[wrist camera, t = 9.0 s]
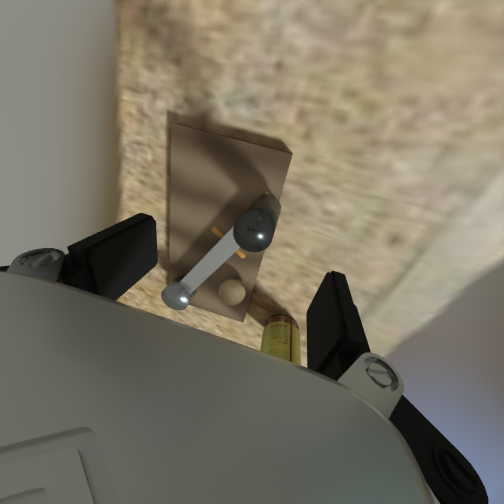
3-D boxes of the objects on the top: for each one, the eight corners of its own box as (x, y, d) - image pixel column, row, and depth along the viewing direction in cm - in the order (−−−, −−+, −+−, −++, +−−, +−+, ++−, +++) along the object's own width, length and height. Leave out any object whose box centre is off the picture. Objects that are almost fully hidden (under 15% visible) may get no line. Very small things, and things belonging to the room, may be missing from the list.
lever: (187, 301, 35) (152, 350, 27) (167, 285, 34) (124, 330, 26) (291, 207, 24) (286, 240, 16) (265, 180, 23) (245, 199, 15)
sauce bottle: (258, 326, 38) (224, 479, 21) (277, 307, 35) (253, 467, 17) (288, 343, 38) (278, 507, 21) (309, 325, 35) (317, 500, 18)
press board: (180, 124, 24) (147, 118, 19) (292, 153, 23) (290, 156, 18) (174, 290, 38) (154, 314, 33) (245, 314, 37) (236, 342, 32)
